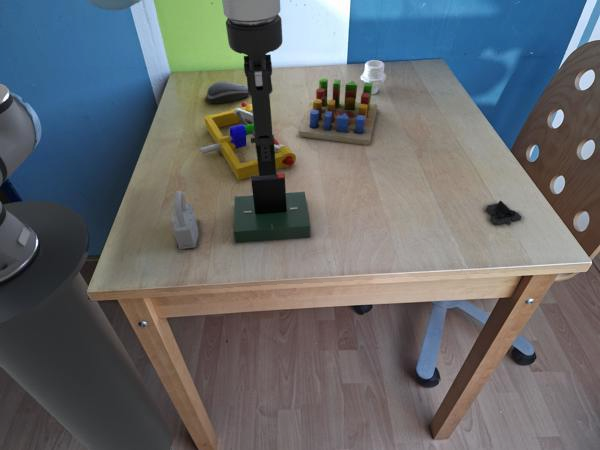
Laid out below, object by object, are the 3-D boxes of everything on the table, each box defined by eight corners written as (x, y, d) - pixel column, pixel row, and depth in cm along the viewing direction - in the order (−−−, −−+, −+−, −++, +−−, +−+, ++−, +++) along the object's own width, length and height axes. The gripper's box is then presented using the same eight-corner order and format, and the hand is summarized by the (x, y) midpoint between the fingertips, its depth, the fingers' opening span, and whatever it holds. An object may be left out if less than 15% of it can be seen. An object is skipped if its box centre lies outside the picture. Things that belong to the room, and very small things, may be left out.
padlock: (178, 223, 83) (166, 183, 76) (199, 221, 83) (189, 181, 76) (176, 250, 78) (163, 210, 71) (198, 247, 78) (187, 207, 71)
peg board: (298, 137, 105) (297, 105, 99) (313, 103, 117) (313, 73, 111) (369, 145, 101) (372, 113, 95) (377, 110, 113) (380, 79, 108)
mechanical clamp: (248, 87, 111) (297, 144, 91) (251, 108, 115) (298, 167, 95) (179, 102, 105) (216, 166, 86) (184, 124, 110) (220, 190, 90)
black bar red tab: (255, 214, 80) (250, 179, 74) (255, 208, 81) (250, 174, 75) (286, 211, 80) (285, 177, 75) (286, 206, 82) (284, 172, 76)
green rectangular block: (235, 243, 79) (233, 231, 77) (236, 207, 86) (234, 195, 84) (310, 237, 80) (310, 225, 77) (304, 202, 87) (304, 190, 85)
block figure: (509, 193, 84) (527, 211, 80) (505, 202, 86) (523, 220, 82) (482, 199, 83) (500, 218, 79) (479, 208, 85) (496, 227, 81)
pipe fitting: (357, 87, 123) (359, 59, 118) (381, 85, 124) (384, 58, 118) (361, 97, 119) (364, 69, 113) (386, 95, 119) (390, 68, 114)
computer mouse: (252, 98, 120) (251, 84, 117) (209, 106, 116) (207, 92, 114) (245, 87, 124) (243, 74, 121) (204, 95, 121) (201, 82, 118)
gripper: (288, 51, 48) (294, 195, 63) (276, -13, 66) (283, 111, 81) (221, 55, 48) (243, 199, 62) (227, -10, 65) (243, 114, 80)
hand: (266, 149), depth 71 cm, fingers open, 13 cm apart
